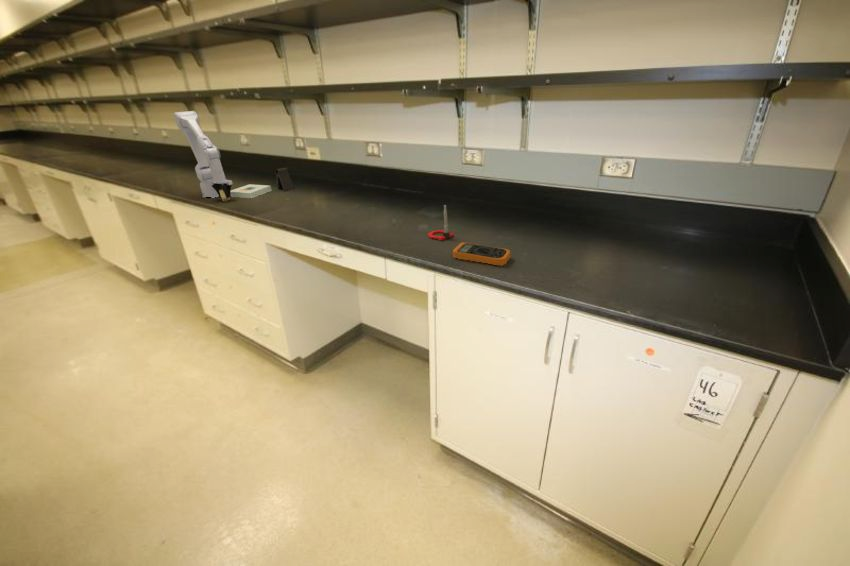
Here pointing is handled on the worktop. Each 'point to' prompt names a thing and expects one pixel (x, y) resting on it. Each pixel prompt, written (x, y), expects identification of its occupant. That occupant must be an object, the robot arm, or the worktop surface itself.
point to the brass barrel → (223, 195)
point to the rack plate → (250, 191)
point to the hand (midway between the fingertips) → (225, 197)
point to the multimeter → (481, 253)
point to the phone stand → (283, 180)
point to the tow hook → (445, 232)
